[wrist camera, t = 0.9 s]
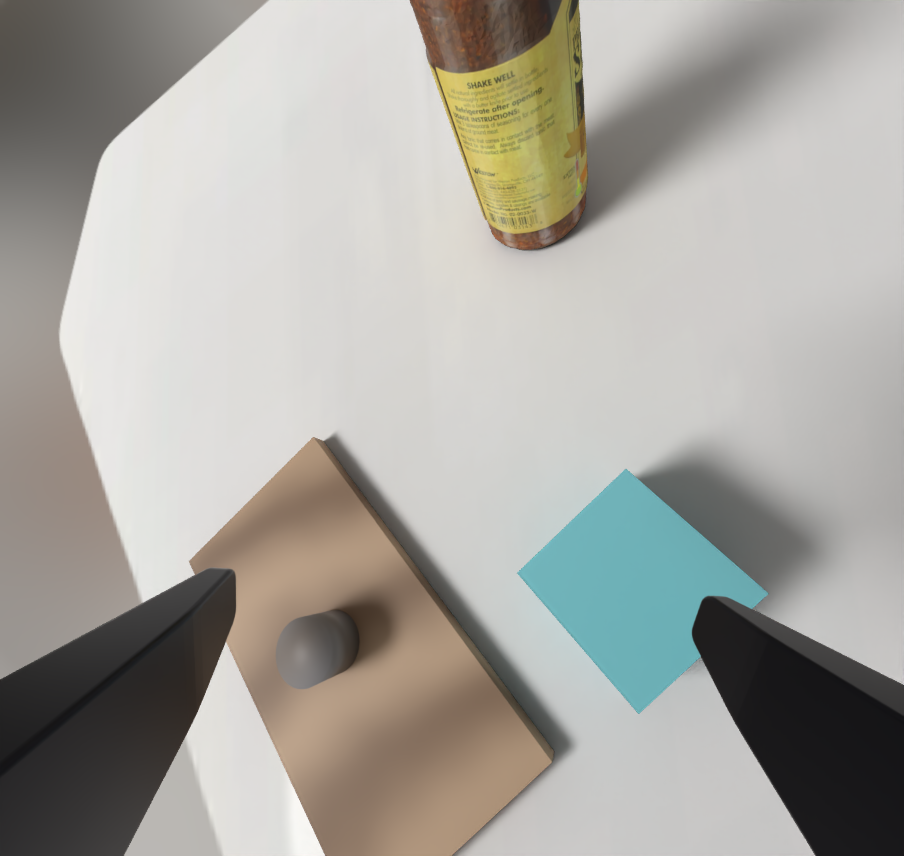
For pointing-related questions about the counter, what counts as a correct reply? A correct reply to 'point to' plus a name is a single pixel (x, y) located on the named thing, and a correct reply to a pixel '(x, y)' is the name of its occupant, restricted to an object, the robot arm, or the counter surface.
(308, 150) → the counter surface
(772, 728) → the robot arm
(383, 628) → the post base
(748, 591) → the teal block
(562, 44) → the sauce bottle
